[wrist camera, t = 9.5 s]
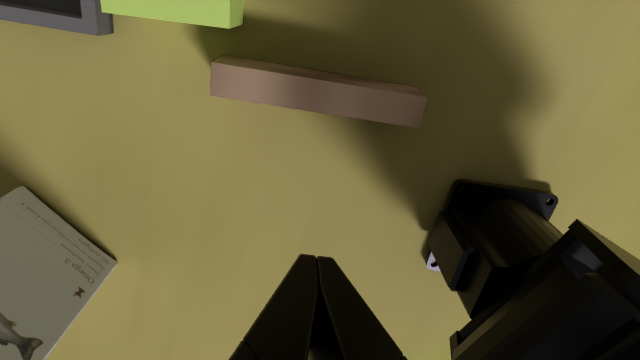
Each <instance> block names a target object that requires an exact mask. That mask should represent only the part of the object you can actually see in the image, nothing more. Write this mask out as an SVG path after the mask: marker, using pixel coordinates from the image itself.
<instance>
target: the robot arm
mask: <svg viewBox="0 0 640 360" xmlns="http://www.w3.org/2000/svg"><path fill="white" fill-rule="evenodd" d="M461 186H464V188H463V190H460V191H458V189H459V188H460V187H461ZM548 199H550V200H549V201H548V202H546V201H547V200H548ZM557 203H558V198H557V196H555V195H554V194H553V193H551V192H547V191H540V190H533V189H526V188H519V187H512V186H505V185H498V184H491V183H484V182H477V181H471V180H464V179H460V180H457V181H455V182H454V183H453V185H452V187H451V190H450V193H449V195H448V198H447V201H446V204H445V207H444V209H443V210H442V211H441V212H440V213H439V215H438V218H437V221H436V224H435V227H434V229H433V232H432V235H431V238H430V241H429V243H428V246H429V251H428V254H427V256H426V259H425V263H426V265H427V267H428V268H429V269H430V270H435V271H441V273H442V275H443V277H444V279H445V281H446V283H447V285H448V287H449V288H450V290H451V291H456V292H457V293H458V295H459V297H460V299H461V301H462V303H463V305H464V307H465V309H466V311H467V313H468V315H469V317H470V318H471V319H472V320H471V321H470V322H469V323H468V324H467V325H465V326H464V327H463V328H462V329H461V330H460V331H456V332H455V333H454V334H453V335H452V336H450V349H451V360H640V260H639V259H637V258H636V257H634V256H633V255H631V254H630V253H628V252H627V251H625V250H624V249H622V248H621V247H619V246H618V245H616V244H615V243H613V242H611V241H610V240H608V239H607V238H605V237H604V236H602V235H601V234H599V233H598V232H596V231H595V230H593V229H592V228H590V227H589V226H587V225H586V224H584V223H583V222H581V221H580V220H578V219H576V220H575V221H574V222H573V223H572V224H571V225H570V226H569V227H568V228H569V230H568V231H567V232H566V233H565V234H564V235H563V234H562V233H561V232H560V231H559V230H558V229H557V228H556V227H554V226H553V225H552V224H551V223H550V222H549V219H550V217H551V215H552V213H553V211H554V209H555V207H556V205H557ZM433 261H436V262H435V263H432V262H433ZM229 360H407V358H406V357H405V356H403V353H402V352H401V350H400V349H399V348H398V346H397V345H396V343H395V342H394V341H393V339H392V338H391V337H390V335H389V334H388V333H387V331H386V330H385V328H384V327H383V326H382V324H381V323H380V322H379V320H378V319H377V318H376V316H375V315H374V313H373V312H372V311H371V309H370V308H369V307H368V305H367V304H366V303H365V301H364V300H363V298H362V297H361V296H360V294H359V293H358V292H357V290H356V289H355V288H354V286H353V285H352V283H351V282H350V281H349V279H348V278H347V277H346V275H345V274H344V273H343V271H342V270H341V268H340V267H339V266H338V264H337V263H336V262H335V260H334V259H333V258H331V257H324V256H318V257H317V258H316V257H315V256H314V255H307V254H300V255H299V256H298V258H297V259H296V261H295V262H294V264H293V265H292V267H291V268H290V270H289V271H288V273H287V274H286V276H285V277H284V279H283V280H282V282H281V283H280V285H279V286H278V288H277V289H276V291H275V292H274V294H273V295H272V297H271V298H270V299H269V301H268V302H267V304H266V305H265V307H264V308H263V310H262V311H261V313H260V314H259V316H258V317H257V319H256V320H255V322H254V323H253V325H252V326H251V328H250V329H249V331H248V332H247V334H246V335H245V337H244V338H243V341H241V342H240V344H239V345H238V347H237V348H236V350H235V351H234V353H233V354H232V355H231V357H230V358H229Z"/></svg>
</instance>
